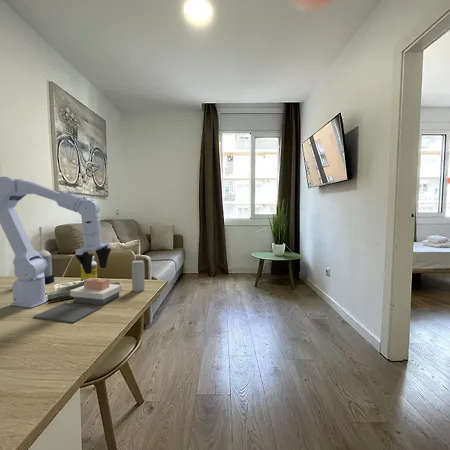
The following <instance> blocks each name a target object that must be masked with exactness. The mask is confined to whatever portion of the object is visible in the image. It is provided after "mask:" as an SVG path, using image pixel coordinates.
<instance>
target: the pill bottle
mask: <svg viewBox="0 0 450 450" xmlns="http://www.w3.org/2000/svg"><path fill="white" fill-rule="evenodd" d="M97 266H98V263H97V261H95V255H93V257H92V273H90V274H86V273H85V271H84V269H83V266H82V265H81V264H80V279H81V280H80V282H81V281H83V280H86V279H89V278H98V267H97Z"/></svg>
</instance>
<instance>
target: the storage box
mask: <svg viewBox="0 0 450 450" xmlns="http://www.w3.org/2000/svg"><path fill="white" fill-rule="evenodd" d="M119 297H120V291H119V292H117V293H115V294H113V295H111V296H109V297H107V298H105V299H103V300H102V299H93V298H83V297H73V302H74V303H78V304H79V303H80V304H81V303H82V304H87V305H90V304H91V305H97V306H103V305H105V304H108V303H109V302H111V301H113V300H115V299H118V298H119Z"/></svg>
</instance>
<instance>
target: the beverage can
mask: <svg viewBox="0 0 450 450" xmlns="http://www.w3.org/2000/svg"><path fill="white" fill-rule="evenodd" d="M145 283H146V281H145V260H142V259H140V260H139V259H138V260H137V259H136V260H133V261H131V287H132V288H131V290H132V291H133V292H134V293H141V292H143V291H144V290H145V288H146V287H145Z"/></svg>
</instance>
